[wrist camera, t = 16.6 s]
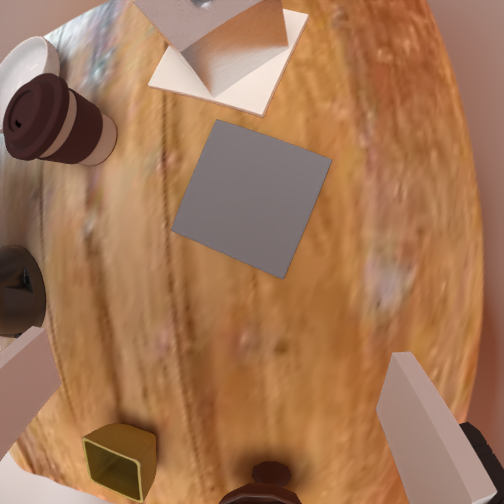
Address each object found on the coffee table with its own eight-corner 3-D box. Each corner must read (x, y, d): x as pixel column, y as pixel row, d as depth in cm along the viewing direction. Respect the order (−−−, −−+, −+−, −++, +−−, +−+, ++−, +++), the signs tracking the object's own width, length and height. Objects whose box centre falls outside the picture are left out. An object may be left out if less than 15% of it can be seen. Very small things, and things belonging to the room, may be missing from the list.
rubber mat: (172, 230, 37) (170, 230, 37) (217, 120, 36) (216, 119, 35) (283, 278, 35) (283, 279, 35) (331, 160, 34) (332, 159, 33)
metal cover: (170, 47, 36) (128, -4, 24) (238, 3, 34) (214, -57, 22) (214, 98, 35) (175, 46, 23) (289, 48, 33) (278, -17, 21)
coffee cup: (118, 95, 38) (49, 50, 23) (134, 154, 38) (55, 121, 23) (66, 130, 40) (-6, 102, 25) (78, 188, 40) (-4, 173, 25)
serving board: (150, 88, 37) (147, 85, 36) (201, 0, 36) (199, -4, 35) (263, 118, 35) (261, 114, 34) (308, 19, 33) (308, 14, 32)
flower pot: (114, 408, 41) (80, 436, 32) (167, 426, 39) (139, 462, 30) (118, 450, 41) (89, 480, 32) (167, 469, 40) (143, 504, 31)
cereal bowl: (61, 131, 40) (29, 119, 33) (3, 145, 43) (-25, 139, 36) (83, 40, 39) (59, 21, 32) (23, 64, 42) (-1, 53, 35)
